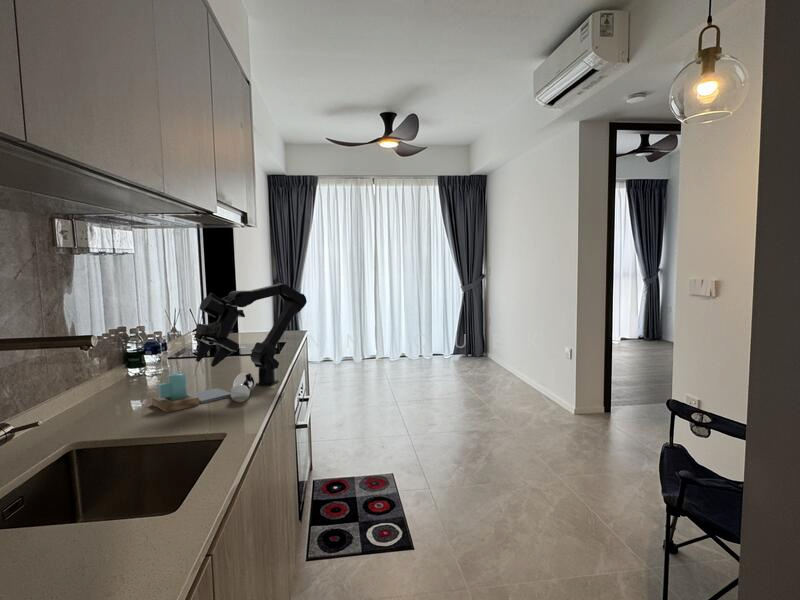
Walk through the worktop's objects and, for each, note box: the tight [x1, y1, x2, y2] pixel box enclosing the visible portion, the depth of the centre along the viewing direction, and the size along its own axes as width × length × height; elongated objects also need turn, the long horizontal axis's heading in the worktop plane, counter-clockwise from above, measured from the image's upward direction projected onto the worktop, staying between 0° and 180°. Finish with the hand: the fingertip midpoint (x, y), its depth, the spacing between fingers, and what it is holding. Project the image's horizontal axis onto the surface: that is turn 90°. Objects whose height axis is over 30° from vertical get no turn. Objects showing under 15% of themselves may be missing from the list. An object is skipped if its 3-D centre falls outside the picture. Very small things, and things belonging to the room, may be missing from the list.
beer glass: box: [230, 371, 255, 403], centre depth 162 cm, size 7×7×15 cm
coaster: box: [187, 387, 232, 405], centre depth 161 cm, size 11×11×1 cm
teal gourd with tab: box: [157, 372, 188, 401], centre depth 152 cm, size 8×5×10 cm, turn 139°
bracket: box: [151, 395, 200, 413], centre depth 152 cm, size 10×12×2 cm
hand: (204, 363), depth 159 cm, fingers open, 9 cm apart
